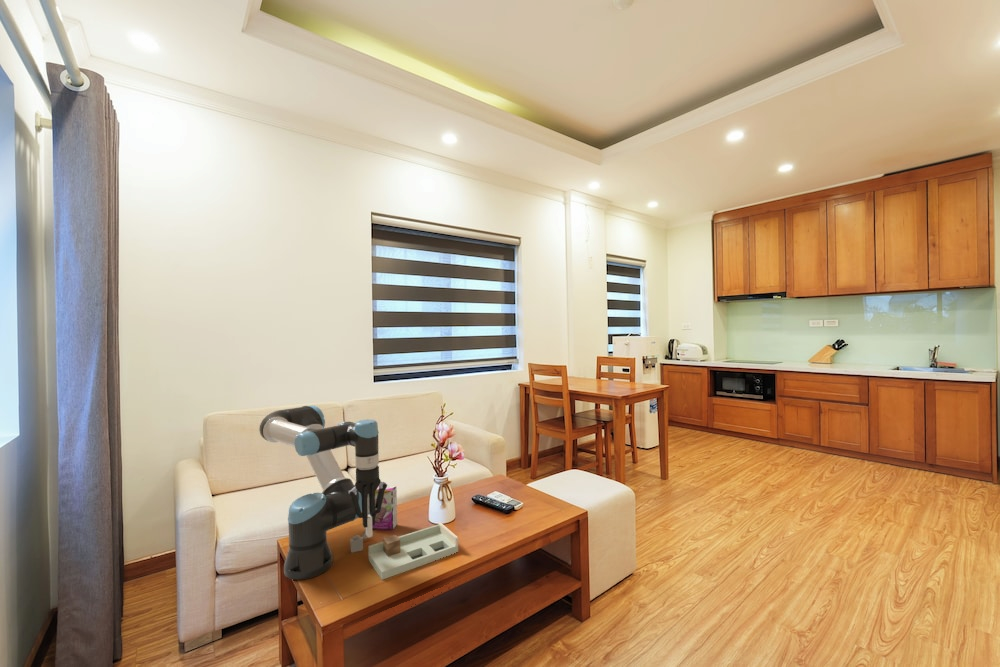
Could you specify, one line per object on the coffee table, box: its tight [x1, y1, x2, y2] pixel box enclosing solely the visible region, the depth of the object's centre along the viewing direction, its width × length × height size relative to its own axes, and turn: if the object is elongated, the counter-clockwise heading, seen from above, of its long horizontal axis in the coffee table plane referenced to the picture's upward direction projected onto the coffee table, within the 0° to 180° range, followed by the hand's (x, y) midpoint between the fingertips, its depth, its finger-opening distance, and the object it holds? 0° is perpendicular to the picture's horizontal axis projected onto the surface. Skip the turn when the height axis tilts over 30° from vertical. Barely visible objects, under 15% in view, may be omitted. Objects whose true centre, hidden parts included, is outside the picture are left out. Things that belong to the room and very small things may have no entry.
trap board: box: [367, 522, 459, 581], centre depth 150 cm, size 28×14×6 cm, turn 124°
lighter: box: [349, 528, 368, 554], centre depth 155 cm, size 7×2×8 cm, turn 117°
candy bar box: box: [367, 485, 398, 531], centre depth 171 cm, size 11×5×16 cm, turn 84°
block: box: [382, 534, 400, 557], centre depth 148 cm, size 4×4×4 cm
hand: (369, 535), depth 143 cm, fingers closed
